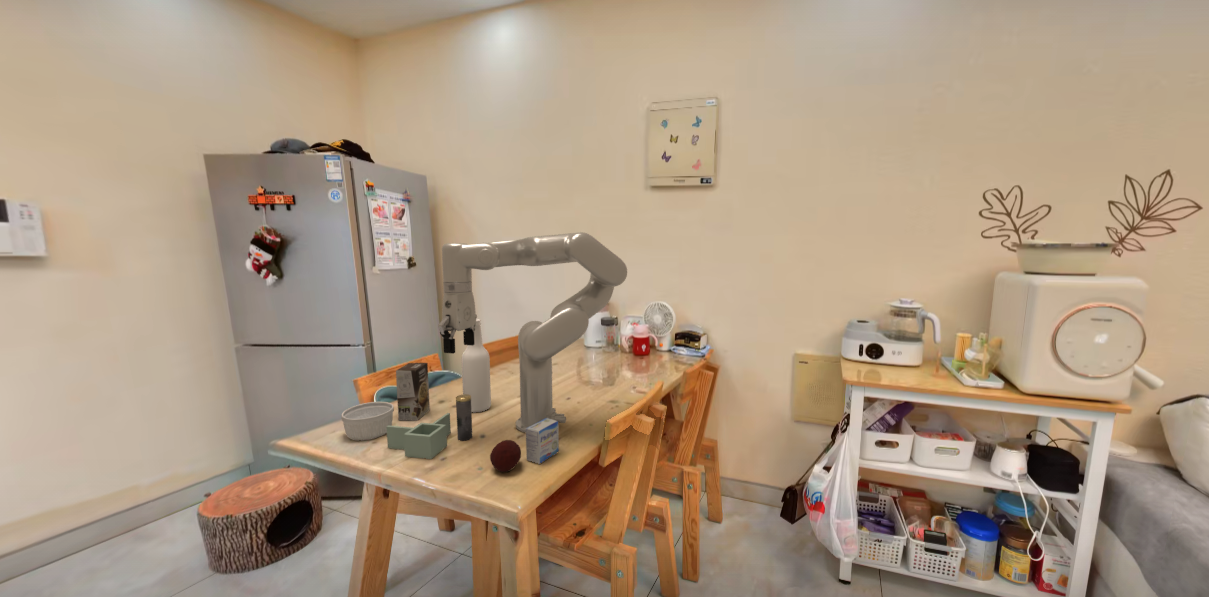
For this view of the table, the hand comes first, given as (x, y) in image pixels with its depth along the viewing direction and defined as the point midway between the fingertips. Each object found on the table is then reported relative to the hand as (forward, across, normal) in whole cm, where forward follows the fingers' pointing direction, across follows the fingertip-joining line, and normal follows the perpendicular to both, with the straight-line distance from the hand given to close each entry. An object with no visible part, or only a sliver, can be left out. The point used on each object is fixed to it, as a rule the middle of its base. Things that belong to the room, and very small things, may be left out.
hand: (459, 348), depth 120 cm
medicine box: (+25, -7, -27) cm, 38 cm away
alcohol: (+25, +19, +6) cm, 32 cm away
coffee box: (+25, +9, +22) cm, 35 cm away
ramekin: (+26, -6, +27) cm, 37 cm away
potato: (+25, -14, -21) cm, 36 cm away
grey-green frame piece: (+25, -8, +7) cm, 27 cm away
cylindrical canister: (+25, -2, -2) cm, 25 cm away
